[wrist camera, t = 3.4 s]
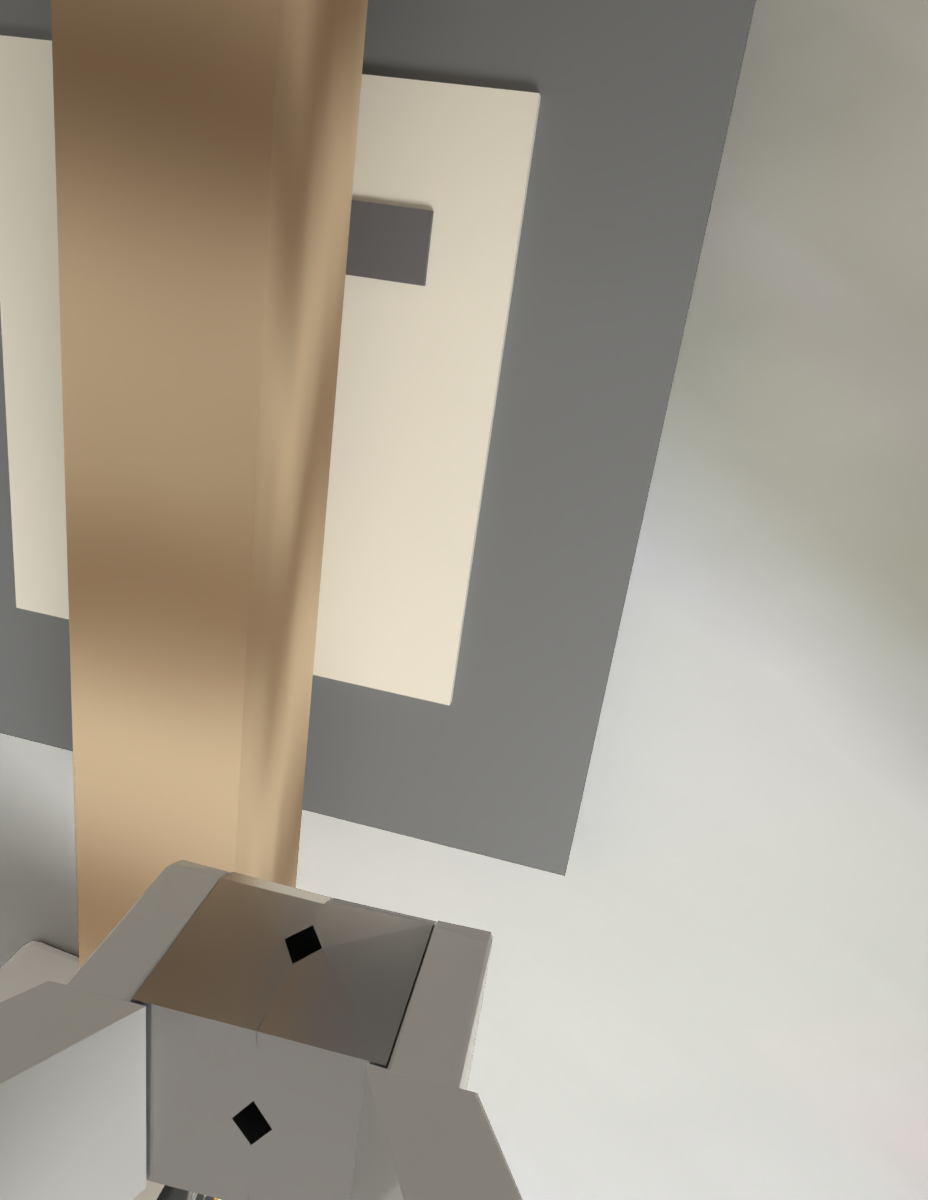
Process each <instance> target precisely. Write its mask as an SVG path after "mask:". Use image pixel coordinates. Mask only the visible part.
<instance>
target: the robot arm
mask: <svg viewBox="0 0 928 1200" xmlns="http://www.w3.org/2000/svg"><path fill="white" fill-rule="evenodd" d="M492 938H493V937H492V934H491V932H488V931H484V930H479V929H474V928H470V927H465V926H460V925H456V924H451V923H446V922H441V921H438V922H436V921H431V920H427V919H423V918H418V917H414V916H410V915H405V914H401V913H396V912H392V911H388V910H383V909H379V908H375V907H370V906H366V905H361V904H357V903H353V902H348V901H344V900H340V899H335V898H333V899H332V898H331V897H327V896H324V895H320V894H316V893H312V892H308V891H305V890H301V889H297V888H293V887H289V886H285V885H282V884H278V883H274V882H270V881H266V880H263V879H259V878H255V877H251V876H247V875H244V874H240V873H236V872H227V871H224V870H220V869H216V868H213V867H209V866H205V865H201V864H197V863H194V862H190V861H186V860H182V859H181V860H179V861H177V862H175V863H173V864H171V865H169V866H167V867H166V868H165V869H164V870H163V871H162V873H161V874H160V875H159V876H158V877H157V878H156V880H155V881H154V882H153V883H152V884H151V885H150V887H149V888H148V889H147V890H146V891H145V892H144V894H143V895H142V896H141V897H140V898H139V899H138V901H137V902H136V903H135V904H134V905H133V906H132V908H131V909H130V910H129V911H128V912H127V913H126V915H125V916H124V917H123V918H122V919H121V920H120V922H119V923H118V924H117V925H116V926H115V927H114V929H113V930H112V931H111V932H110V933H109V934H108V936H107V937H106V938H105V939H104V940H103V941H102V943H101V944H100V945H99V946H98V947H97V948H96V950H95V951H94V952H93V953H92V954H91V955H90V957H89V958H88V959H87V960H86V961H85V962H84V964H83V965H82V966H81V967H80V968H79V969H78V971H77V972H76V973H75V974H74V975H73V976H72V978H71V979H70V980H69V981H68V982H67V983H66V985H65V984H61V983H56V982H52V981H47V982H45V983H43V984H40V985H38V986H36V987H34V988H31V989H29V990H27V991H25V992H23V993H20V994H18V995H16V996H14V997H11V998H9V999H7V1000H5V1001H2V1002H0V1200H132V1199H133V1198H134V1197H136V1196H137V1195H138V1194H139V1193H141V1192H142V1191H143V1190H144V1189H146V1185H147V1180H148V1181H151V1182H155V1183H159V1184H163V1185H167V1186H171V1187H175V1188H179V1189H183V1190H187V1191H190V1192H194V1193H198V1194H202V1195H206V1196H210V1197H214V1198H218V1199H222V1200H522V1198H521V1195H520V1193H519V1190H518V1188H517V1186H516V1183H515V1181H514V1179H513V1176H512V1174H511V1172H510V1169H509V1167H508V1165H507V1162H506V1160H505V1157H504V1155H503V1153H502V1150H501V1148H500V1146H499V1143H498V1141H497V1139H496V1136H495V1134H494V1132H493V1129H492V1127H491V1124H490V1122H489V1120H488V1117H487V1115H486V1113H485V1110H484V1108H483V1106H482V1103H481V1101H480V1098H479V1096H478V1094H477V1093H474V1092H471V1091H468V1090H467V1086H468V1080H469V1074H470V1069H471V1063H472V1057H473V1051H474V1046H475V1040H476V1034H477V1029H478V1023H479V1017H480V1011H481V1005H482V1000H483V994H484V988H485V982H486V976H487V971H488V965H489V959H490V953H491V947H492Z"/></svg>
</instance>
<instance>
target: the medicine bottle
mask: <svg viewBox="0 0 928 1200" xmlns="http://www.w3.org/2000/svg"><path fill="white" fill-rule="evenodd" d="M78 969H79V957H77V956H74V955H72V954H69V953H67V952H64V951H62V950H59V949H57V948H54V947H52V946H49V945H47V944H44V943H42V942H37V941H31V942H29V943H27V944H25V945H23V946H22V947H21V948H20V949H19V950H18V951H17V952H16V953H15V954H14V955H13V956H12V957H11V958H10V959H9V960H8V961H7V962H6V963H5V964H4V965H3V966H2V967H1V968H0V1002H2V1001H5V1000H7V999H9V998H11V997H14V996H16V995H18V994H20V993H23V992H25V991H27V990H29V989H31V988H34V987H36V986H38V985H40V984H43V983H45V982H47V981H52V982H56V983H61V984H65V985H66V983H67V982H68V981H69V980H70V979H71V978H72V976H73V975H74V974H75V973H76V972H77V971H78ZM132 1200H218V1198H214V1197H210V1196H206V1195H202V1194H198V1193H194V1192H190V1191H187V1190H183V1189H179V1188H175V1187H171V1186H167V1185H163V1184H159V1183H155V1182H151V1181H148V1180H147V1185H146V1189H144V1190H143V1191H142V1192H141V1193H139V1194H138V1195H137V1196H136V1197H134V1198H133V1199H132Z"/></svg>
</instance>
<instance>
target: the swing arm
mask: <svg viewBox="0 0 928 1200" xmlns="http://www.w3.org/2000/svg"><path fill="white" fill-rule="evenodd" d="M367 6H368V0H51V25H52V59H53V93H54V127H55V161H56V194H57V228H58V262H59V296H60V330H61V363H62V397H63V431H64V465H65V499H66V532H67V566H68V600H69V634H70V668H71V701H72V735H73V769H74V803H75V837H76V870H77V904H78V938H79V968H80V967H81V966H82V965H83V964H84V962H85V961H86V960H87V959H88V958H89V957H90V955H91V954H92V953H93V952H94V951H95V950H96V948H97V947H98V946H99V945H100V944H101V943H102V941H103V940H104V939H105V938H106V937H107V936H108V934H109V933H110V932H111V931H112V930H113V929H114V927H115V926H116V925H117V924H118V923H119V922H120V920H121V919H122V918H123V917H124V916H125V915H126V913H127V912H128V911H129V910H130V909H131V908H132V906H133V905H134V904H135V903H136V902H137V901H138V899H139V898H140V897H141V896H142V895H143V894H144V892H145V891H146V890H147V889H148V888H149V887H150V885H151V884H152V883H153V882H154V881H155V880H156V878H157V877H158V876H159V875H160V874H161V873H162V871H163V870H164V869H165V868H166V867H167V866H169V865H171V864H173V863H175V862H177V861H179V860H181V859H182V860H186V861H190V862H194V863H197V864H201V865H205V866H209V867H213V868H216V869H220V870H224V871H227V872H236V873H240V874H244V875H247V876H251V877H255V878H259V879H263V880H266V881H270V882H274V883H278V884H282V885H285V886H289V887H293V888H295V887H296V875H297V863H298V850H299V838H300V826H301V814H302V801H303V789H304V777H305V765H306V752H307V740H308V728H309V716H310V704H311V691H312V679H313V667H314V655H315V642H316V630H317V618H318V606H319V593H320V581H321V569H322V557H323V544H324V532H325V520H326V508H327V496H328V483H329V471H330V459H331V447H332V434H333V422H334V410H335V398H336V385H337V373H338V361H339V349H340V337H341V324H342V312H343V300H344V288H345V275H346V263H347V251H348V239H349V226H350V214H351V202H352V190H353V177H354V165H355V153H356V141H357V129H358V116H359V104H360V92H361V80H362V67H363V55H364V43H365V31H366V18H367Z"/></svg>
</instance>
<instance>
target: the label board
mask: <svg viewBox="0 0 928 1200" xmlns="http://www.w3.org/2000/svg"><path fill="white" fill-rule="evenodd" d="M755 1H756V0H368V6H367V18H366V31H365V43H364V55H363V67H362V80H361V92H360V104H359V116H358V129H357V141H356V153H355V165H354V177H353V190H352V202H351V214H350V226H349V239H348V251H347V263H346V275H345V288H344V300H343V312H342V324H341V337H340V349H339V361H338V373H337V385H336V398H335V410H334V422H333V434H332V447H331V459H330V471H329V483H328V496H327V508H326V520H325V532H324V544H323V557H322V569H321V581H320V593H319V606H318V618H317V630H316V642H315V655H314V667H313V679H312V691H311V704H310V716H309V728H308V740H307V752H306V765H305V777H304V789H303V801H302V809H303V810H307V811H311V812H315V813H319V814H323V815H327V816H331V817H335V818H338V819H342V820H346V821H350V822H354V823H358V824H362V825H366V826H370V827H374V828H378V829H382V830H386V831H390V832H394V833H398V834H402V835H406V836H410V837H414V838H417V839H421V840H425V841H429V842H433V843H437V844H441V845H445V846H449V847H453V848H457V849H461V850H465V851H469V852H473V853H477V854H481V855H485V856H489V857H493V858H496V859H500V860H504V861H508V862H512V863H516V864H520V865H524V866H528V867H532V868H536V869H540V870H544V871H548V872H552V873H556V874H560V875H564V876H565V873H566V869H567V864H568V860H569V855H570V850H571V846H572V841H573V837H574V832H575V827H576V823H577V818H578V814H579V809H580V804H581V800H582V795H583V791H584V786H585V781H586V777H587V772H588V768H589V763H590V759H591V754H592V749H593V745H594V740H595V736H596V731H597V726H598V722H599V717H600V713H601V708H602V703H603V699H604V694H605V690H606V685H607V680H608V676H609V671H610V667H611V662H612V657H613V653H614V648H615V644H616V639H617V635H618V630H619V625H620V621H621V616H622V612H623V607H624V602H625V598H626V593H627V589H628V584H629V579H630V575H631V570H632V566H633V561H634V556H635V552H636V547H637V543H638V538H639V534H640V529H641V524H642V520H643V515H644V511H645V506H646V501H647V497H648V492H649V488H650V483H651V478H652V474H653V469H654V465H655V460H656V455H657V451H658V446H659V442H660V437H661V433H662V428H663V423H664V419H665V414H666V410H667V405H668V400H669V396H670V391H671V387H672V382H673V377H674V373H675V368H676V364H677V359H678V354H679V350H680V345H681V341H682V336H683V331H684V327H685V322H686V318H687V313H688V309H689V304H690V299H691V295H692V290H693V286H694V281H695V276H696V272H697V267H698V263H699V258H700V253H701V249H702V244H703V240H704V235H705V230H706V226H707V221H708V217H709V212H710V208H711V203H712V198H713V194H714V189H715V185H716V180H717V175H718V171H719V166H720V162H721V157H722V152H723V148H724V143H725V139H726V134H727V129H728V125H729V120H730V116H731V111H732V106H733V102H734V97H735V93H736V88H737V84H738V79H739V74H740V70H741V65H742V61H743V56H744V51H745V47H746V42H747V38H748V33H749V28H750V24H751V19H752V15H753V10H754V5H755ZM0 733H3V734H7V735H11V736H15V737H19V738H23V739H27V740H30V741H34V742H38V743H42V744H46V745H50V746H54V747H58V748H62V749H66V750H70V751H73V735H72V701H71V668H70V634H69V600H68V566H67V532H66V499H65V465H64V431H63V397H62V363H61V330H60V296H59V262H58V228H57V194H56V161H55V127H54V93H53V59H52V25H51V0H0Z"/></svg>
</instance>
